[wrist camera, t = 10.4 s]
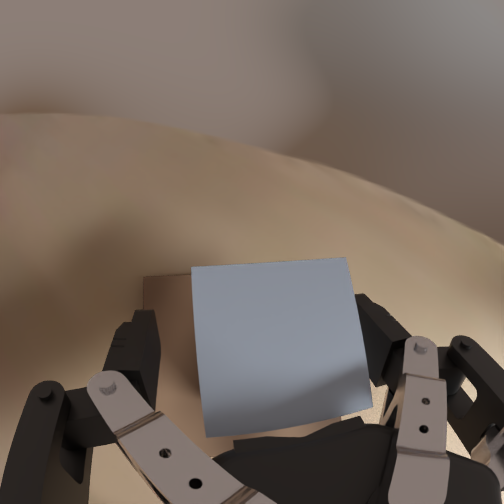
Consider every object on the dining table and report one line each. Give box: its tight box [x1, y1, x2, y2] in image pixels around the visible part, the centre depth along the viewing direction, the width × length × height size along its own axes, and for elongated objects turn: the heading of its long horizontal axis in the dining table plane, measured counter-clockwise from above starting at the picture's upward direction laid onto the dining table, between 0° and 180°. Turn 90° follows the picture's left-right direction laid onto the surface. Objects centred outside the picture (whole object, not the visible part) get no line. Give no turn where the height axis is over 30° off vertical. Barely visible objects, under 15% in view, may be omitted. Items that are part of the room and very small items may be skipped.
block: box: [191, 257, 373, 438], centre depth 12 cm, size 4×4×11 cm
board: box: [143, 275, 341, 457], centre depth 18 cm, size 12×12×1 cm
